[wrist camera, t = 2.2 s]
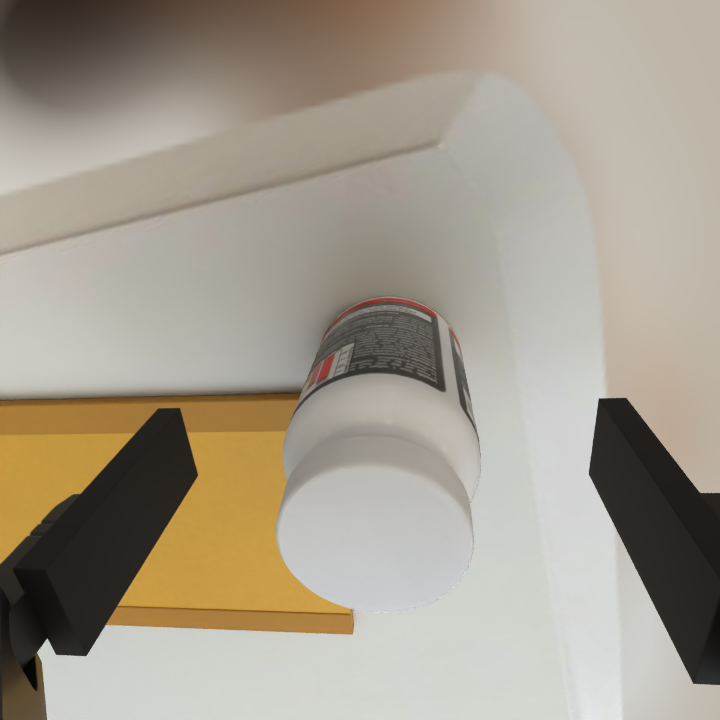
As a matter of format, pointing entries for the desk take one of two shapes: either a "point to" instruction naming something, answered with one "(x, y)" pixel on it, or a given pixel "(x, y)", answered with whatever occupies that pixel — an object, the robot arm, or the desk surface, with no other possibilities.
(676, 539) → the robot arm
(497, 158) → the desk surface
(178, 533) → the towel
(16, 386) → the desk surface
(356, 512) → the pill bottle
